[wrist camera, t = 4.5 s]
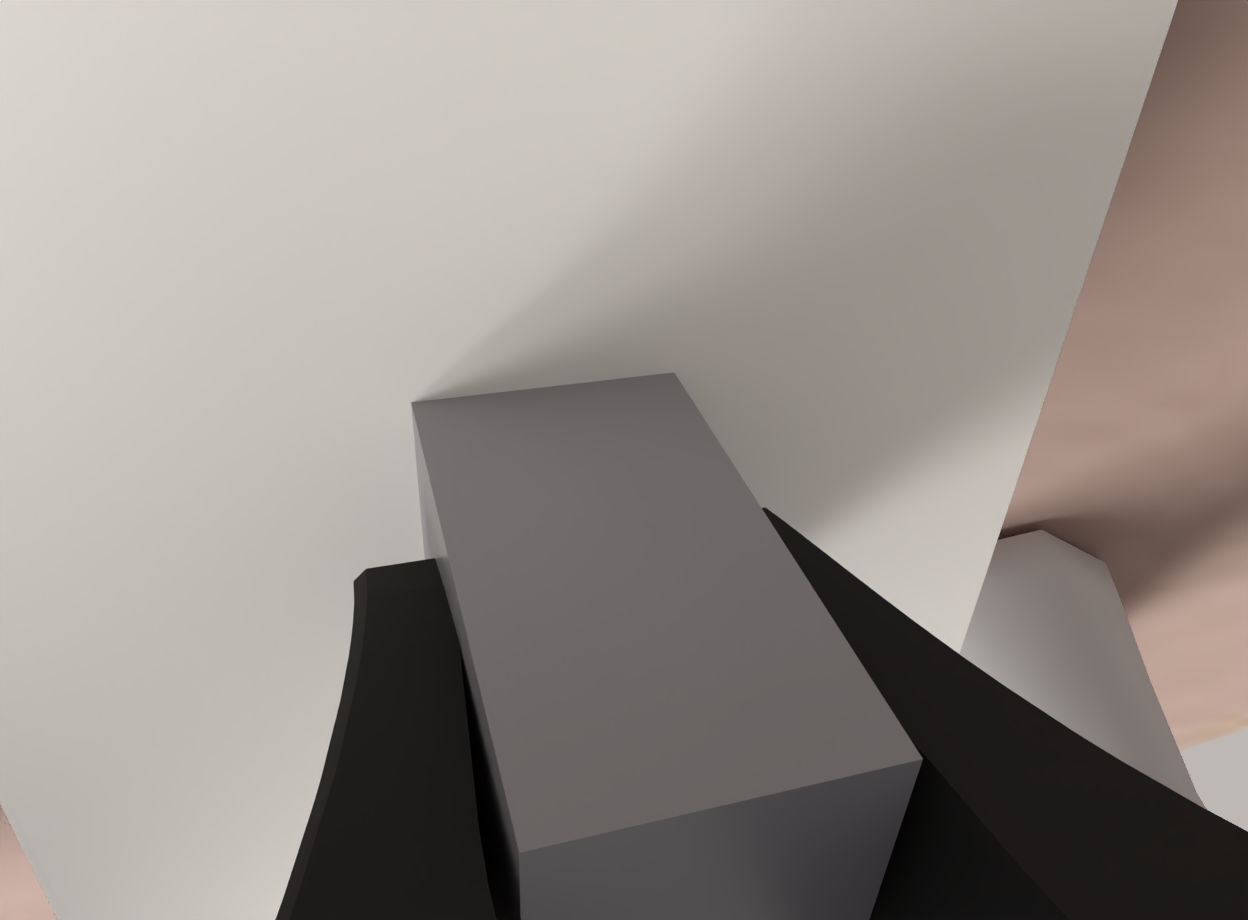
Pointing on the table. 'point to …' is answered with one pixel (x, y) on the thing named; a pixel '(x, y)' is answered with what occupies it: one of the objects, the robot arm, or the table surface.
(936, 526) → the lid
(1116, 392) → the table surface
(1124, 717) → the flask
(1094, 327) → the table surface
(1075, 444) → the table surface
